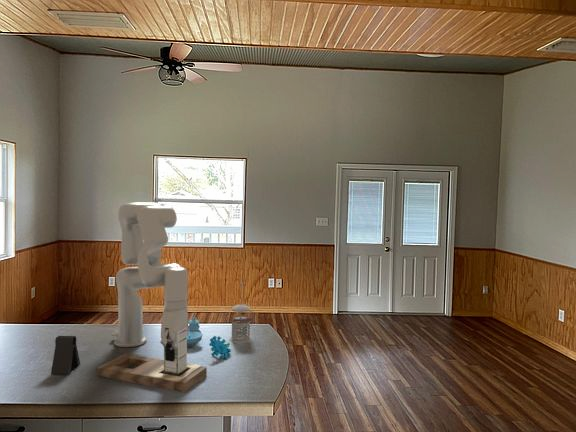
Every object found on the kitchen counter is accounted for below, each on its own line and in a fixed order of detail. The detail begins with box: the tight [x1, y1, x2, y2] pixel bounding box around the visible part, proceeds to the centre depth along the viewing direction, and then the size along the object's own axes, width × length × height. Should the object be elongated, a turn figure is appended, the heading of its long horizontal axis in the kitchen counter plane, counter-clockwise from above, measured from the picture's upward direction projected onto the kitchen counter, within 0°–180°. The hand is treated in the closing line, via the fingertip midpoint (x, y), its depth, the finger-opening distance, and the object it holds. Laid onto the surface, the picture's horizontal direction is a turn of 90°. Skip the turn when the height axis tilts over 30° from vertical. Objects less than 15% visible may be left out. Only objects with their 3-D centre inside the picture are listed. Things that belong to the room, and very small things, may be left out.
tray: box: [97, 353, 208, 393], centre depth 155 cm, size 34×14×3 cm, turn 71°
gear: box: [209, 335, 232, 360], centre depth 175 cm, size 11×6×10 cm
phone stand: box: [50, 335, 81, 376], centre depth 158 cm, size 9×6×12 cm, turn 179°
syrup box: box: [163, 327, 188, 375], centre depth 151 cm, size 6×6×14 cm
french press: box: [228, 282, 255, 344], centre depth 195 cm, size 10×12×25 cm
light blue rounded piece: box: [187, 316, 204, 348], centre depth 190 cm, size 18×10×9 cm, turn 1°
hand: (175, 356), depth 152 cm, fingers closed on syrup box, 5 cm apart
